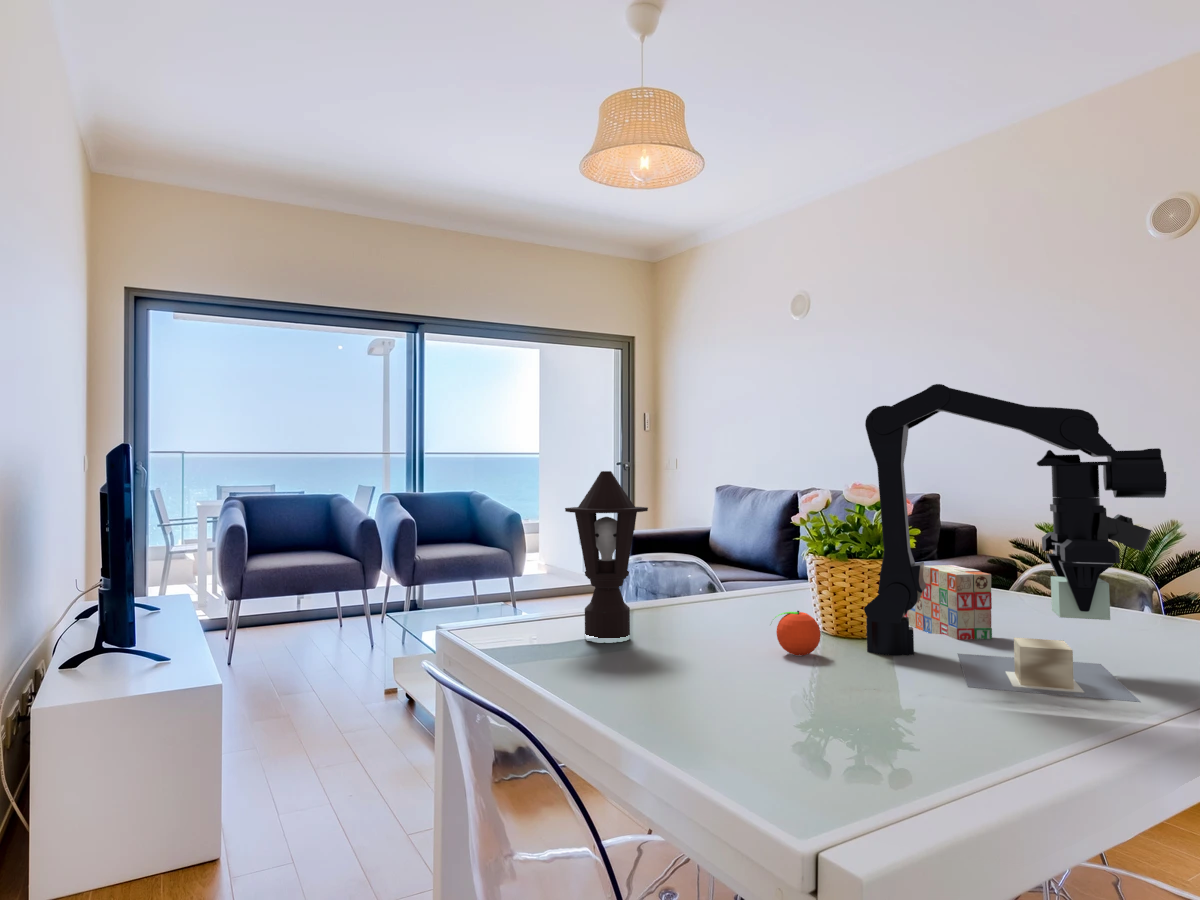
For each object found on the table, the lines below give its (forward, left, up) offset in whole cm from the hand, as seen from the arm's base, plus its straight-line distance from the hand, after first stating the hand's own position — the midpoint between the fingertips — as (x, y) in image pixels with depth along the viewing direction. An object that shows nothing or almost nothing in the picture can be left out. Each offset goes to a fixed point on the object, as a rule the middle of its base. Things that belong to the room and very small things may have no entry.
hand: (1079, 607), depth 107 cm
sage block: (0, 0, -1) cm, 1 cm away
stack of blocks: (-17, +27, -10) cm, 33 cm away
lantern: (-73, +1, -10) cm, 73 cm away
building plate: (-6, -5, -10) cm, 13 cm away
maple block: (-6, -9, -9) cm, 14 cm away
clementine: (-40, 0, -10) cm, 41 cm away
